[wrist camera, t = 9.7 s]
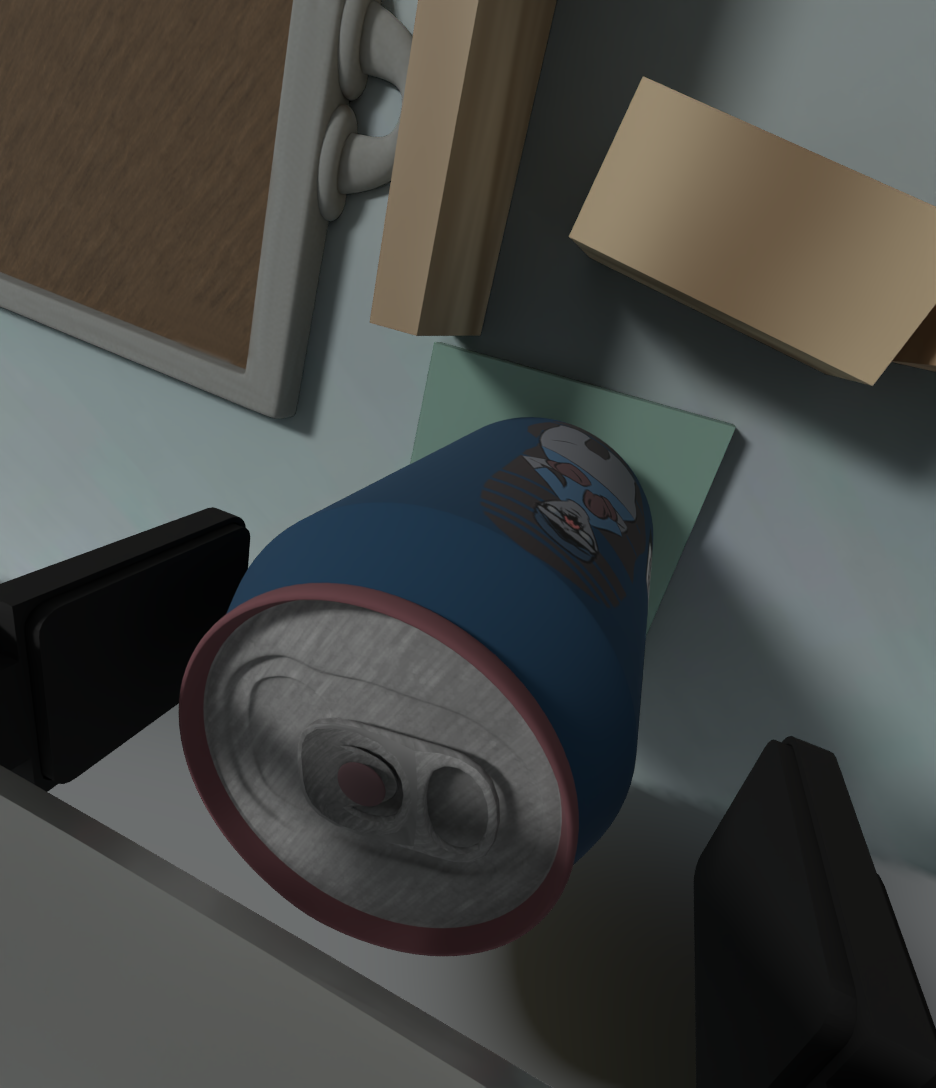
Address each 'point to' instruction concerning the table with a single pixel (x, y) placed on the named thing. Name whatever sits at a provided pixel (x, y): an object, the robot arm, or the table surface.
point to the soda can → (433, 690)
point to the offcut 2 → (921, 345)
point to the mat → (617, 419)
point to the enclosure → (457, 160)
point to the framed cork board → (186, 175)
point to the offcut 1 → (761, 235)
